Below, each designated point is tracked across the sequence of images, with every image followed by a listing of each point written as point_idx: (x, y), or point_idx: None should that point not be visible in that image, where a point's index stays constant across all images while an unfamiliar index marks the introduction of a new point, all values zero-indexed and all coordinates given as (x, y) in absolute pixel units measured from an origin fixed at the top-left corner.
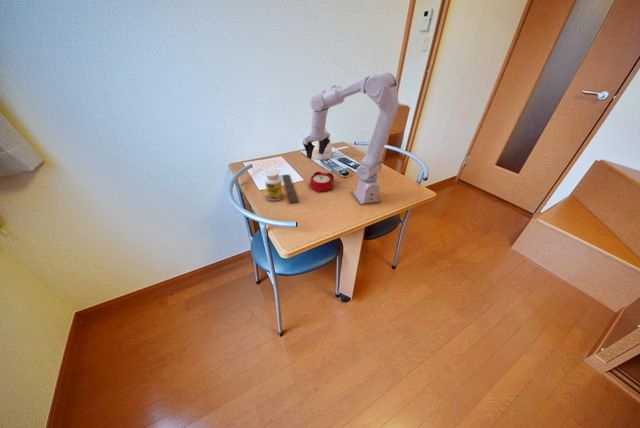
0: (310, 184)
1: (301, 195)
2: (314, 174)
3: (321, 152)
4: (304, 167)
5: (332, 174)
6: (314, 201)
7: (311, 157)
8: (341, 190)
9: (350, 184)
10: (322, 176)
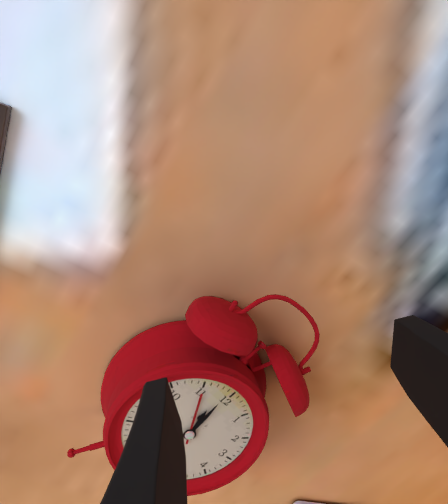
0: (108, 383)
1: (2, 427)
2: (205, 307)
3: (409, 378)
4: (257, 20)
5: (306, 408)
6: (54, 498)
7: (182, 445)
8: (261, 464)
9: (351, 434)
10: (220, 405)
